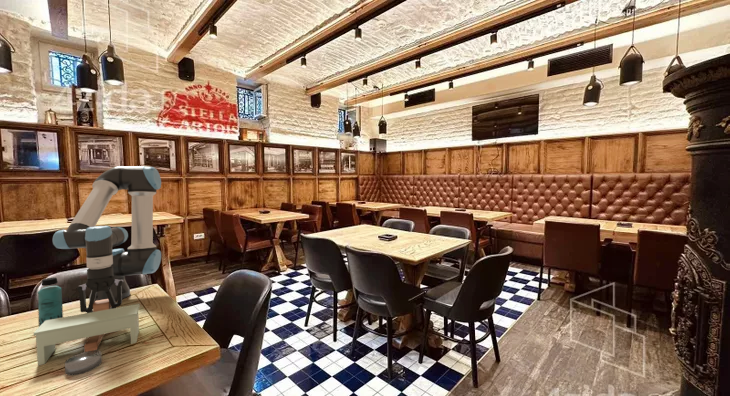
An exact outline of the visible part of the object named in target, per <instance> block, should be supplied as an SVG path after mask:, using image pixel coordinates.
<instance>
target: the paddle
mask: <svg viewBox="0 0 730 396" xmlns="http://www.w3.org/2000/svg"><path fill="white" fill-rule="evenodd" d="M110 307H111V305H110V302H109V300H108V299H104V300H97V301H95V302H94V304H93V312H96V311H102V310H107V309H110ZM104 336H105V334H101V335H96V336H92V337H87V339H86V341H85V343H84V352H87V351H94V350H97V351H98V349H99V347H100V345H101V341H102V340H103V338H104Z"/></svg>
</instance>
